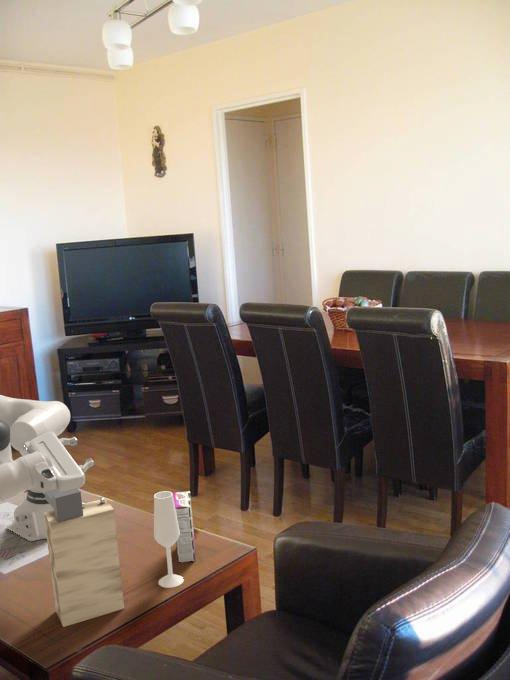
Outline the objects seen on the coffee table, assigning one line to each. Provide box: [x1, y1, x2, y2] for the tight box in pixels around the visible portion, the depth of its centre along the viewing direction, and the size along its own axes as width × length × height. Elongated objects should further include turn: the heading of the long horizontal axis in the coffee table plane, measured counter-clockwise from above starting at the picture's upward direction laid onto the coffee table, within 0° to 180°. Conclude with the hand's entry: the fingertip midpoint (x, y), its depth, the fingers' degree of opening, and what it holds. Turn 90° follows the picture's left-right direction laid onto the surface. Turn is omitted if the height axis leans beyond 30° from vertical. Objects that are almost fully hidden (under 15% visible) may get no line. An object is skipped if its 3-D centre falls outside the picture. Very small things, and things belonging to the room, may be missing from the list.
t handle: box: [45, 488, 83, 523], centre depth 180 cm, size 16×6×6 cm, turn 31°
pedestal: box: [44, 496, 125, 628], centre depth 180 cm, size 8×15×27 cm, turn 117°
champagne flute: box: [153, 490, 185, 589], centre depth 192 cm, size 7×7×24 cm
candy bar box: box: [173, 490, 196, 563], centre depth 207 cm, size 11×5×16 cm, turn 5°
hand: (84, 450), depth 202 cm, fingers open, 8 cm apart
